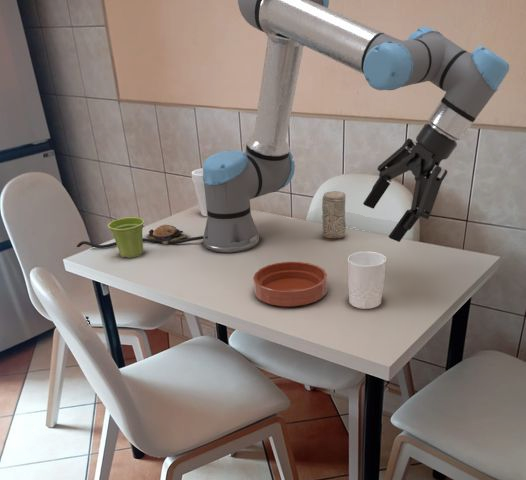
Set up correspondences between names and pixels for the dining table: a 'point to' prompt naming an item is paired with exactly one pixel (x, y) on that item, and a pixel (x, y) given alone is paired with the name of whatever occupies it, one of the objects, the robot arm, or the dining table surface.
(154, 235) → the brown domed piece
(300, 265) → the bowl
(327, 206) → the carving
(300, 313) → the dining table surface
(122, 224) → the plant pot
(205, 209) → the foam cup
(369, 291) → the white cup
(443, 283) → the dining table surface
